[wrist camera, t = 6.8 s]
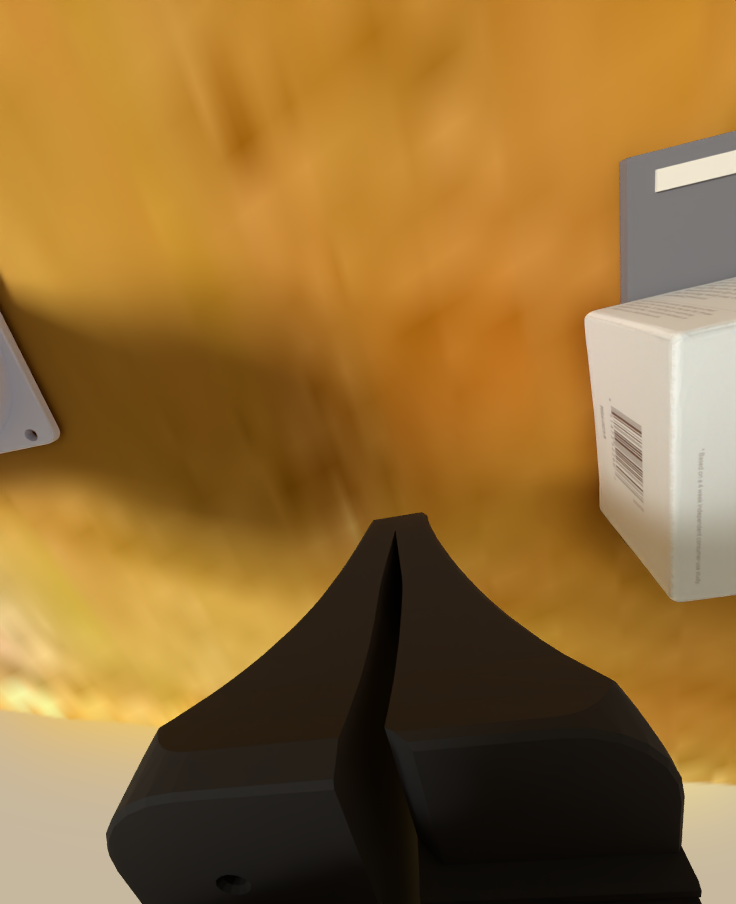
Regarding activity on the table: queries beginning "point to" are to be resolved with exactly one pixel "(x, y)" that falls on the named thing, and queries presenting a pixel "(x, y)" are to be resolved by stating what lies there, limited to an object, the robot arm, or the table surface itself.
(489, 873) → the robot arm
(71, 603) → the table surface
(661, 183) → the mat
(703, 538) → the small box
